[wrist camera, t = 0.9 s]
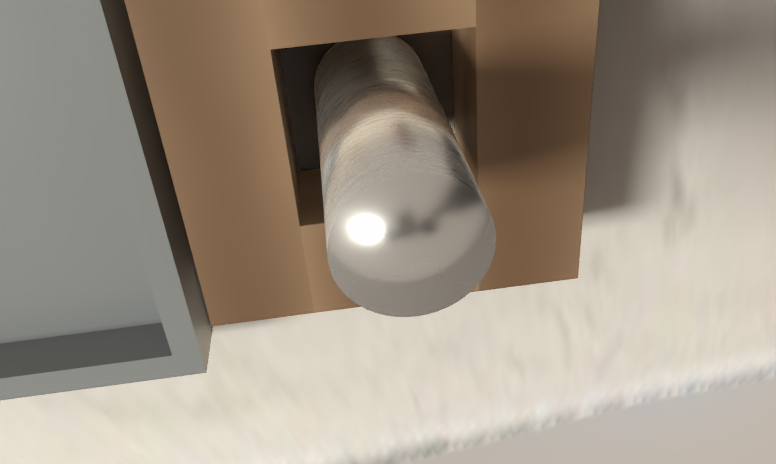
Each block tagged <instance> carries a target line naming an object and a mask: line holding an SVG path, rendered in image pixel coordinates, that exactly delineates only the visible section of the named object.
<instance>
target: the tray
mask: <svg viewBox="0 0 776 464" xmlns="http://www.w3.org/2000/svg"><path fill="white" fill-rule="evenodd" d="M212 328H213V326H211V322H210V319H209V315H208V311H207V307H206V304H205V300H204V296H203V293H202V289H201V285H200V281H199V278H198V274H197V270H196V266H195V263H194V259H193V255H192V251H191V248H190V244H189V240H188V236H187V233H186V229H185V225H184V222H183V218H182V214H181V210H180V207H179V203H178V199H177V195H176V192H175V188H174V184H173V180H172V177H171V173H170V169H169V166H168V162H167V158H166V154H165V151H164V147H163V143H162V139H161V136H160V132H159V128H158V124H157V121H156V117H155V113H154V110H153V106H152V102H151V98H150V95H149V91H148V87H147V83H146V80H145V76H144V72H143V68H142V65H141V61H140V57H139V53H138V50H137V46H136V42H135V39H134V35H133V31H132V27H131V24H130V20H129V16H128V12H127V9H126V5H125V1H124V0H0V400H6V399H14V398H21V397H28V396H36V395H43V394H51V393H58V392H66V391H73V390H80V389H88V388H95V387H103V386H110V385H118V384H125V383H132V382H140V381H147V380H155V379H162V378H169V377H177V376H184V375H192V374H199V373H206V370H207V363H208V356H209V349H210V342H211V335H212Z"/></svg>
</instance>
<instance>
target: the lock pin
mask: <svg viewBox="0 0 776 464" xmlns="http://www.w3.org/2000/svg"><path fill="white" fill-rule="evenodd" d="M314 90H315V104H316V117H317V129H318V142H319V155H320V168H321V181H322V194H323V207H324V220H325V233H326V246H327V259H328V264H329V269H330V271H331V274H332V276H333V279H334V280H335V282H336V284H337V285H338V287H339V288H340V289H341V290H342V292H343V293H344V294H345V295H346V296H347V297H349V298H350V299H351V300H352V301H354V302H355V303H356V304H358V305H360V306H362V307H364V308H365V309H367V310H370V311H373V312H375V313H379V314H383V315H388V316H396V317H411V316H420V315H425V314H429V313H433V312H436V311H439V310H442V309H444V308H446V307H449V306H450V305H452V304H454V303H456V302H458V301H459V300H461V299H462V298H463V297H465V296H466V295H467V294H468V293H470V292H471V291H472V290H473V289H474V288H475V287H476V286H477V285H478V284H479V283H480V281H481V280H482V278H483V277H484V276H485V274H486V272H487V271H488V269H489V267H490V265H491V262H492V260H493V257H494V252H495V248H496V230H495V225H494V221H493V218H492V216H491V214H490V211H489V209H488V207H487V205H486V203H485V200H484V198H483V196H482V194H481V192H480V189H479V187H478V185H477V183H476V181H475V178H474V176H473V174H472V172H471V170H470V168H469V165H468V163H467V161H466V159H465V157H464V154H463V152H462V150H461V148H460V146H459V144H458V141H457V139H456V137H455V135H454V133H453V130H452V128H451V126H450V124H449V122H448V119H447V117H446V115H445V113H444V111H443V109H442V106H441V104H440V102H439V100H438V98H437V95H436V93H435V91H434V89H433V87H432V84H431V82H430V80H429V78H428V76H427V74H426V71H425V69H424V67H423V65H422V63H421V60H420V59H419V57H418V55H417V54H416V52H415V51H414V50H413V49H412V48H411V47H410V46H409V45H408V44H407V43H406V42H405V41H403V40H402V39H400V38H398V37H396V36H388V37H379V38H370V39H361V40H352V41H343V42H336V43H335V44H334V45H333V46H332V47H331V48H330V49H329V50H328V51H327V52H326V53H325V55H324V56H323V58H322V59H321V61H320V63H319V65H318V68H317V71H316V75H315V81H314Z"/></svg>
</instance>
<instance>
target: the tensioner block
mask: <svg viewBox="0 0 776 464" xmlns="http://www.w3.org/2000/svg"><path fill="white" fill-rule="evenodd" d="M124 1H125V5H126V9H127V12H128V16H129V20H130V24H131V27H132V31H133V35H134V39H135V42H136V46H137V50H138V53H139V57H140V61H141V65H142V68H143V72H144V76H145V80H146V83H147V87H148V91H149V95H150V98H151V102H152V106H153V110H154V113H155V117H156V121H157V124H158V128H159V132H160V136H161V139H162V143H163V147H164V151H165V154H166V158H167V162H168V166H169V169H170V173H171V177H172V180H173V184H174V188H175V192H176V195H177V199H178V203H179V207H180V210H181V214H182V218H183V222H184V225H185V229H186V233H187V236H188V240H189V244H190V248H191V251H192V255H193V259H194V263H195V266H196V270H197V274H198V278H199V281H200V285H201V289H202V293H203V296H204V300H205V304H206V307H207V311H208V315H209V319H210V322H211V326H216V325H224V324H232V323H239V322H247V321H254V320H262V319H270V318H277V317H285V316H293V315H300V314H308V313H315V312H323V311H331V310H338V309H346V308H353V307H361V306H360V305H358V304H356V303H355V302H354V301H352V300H351V299H350V298H349V297H347V296H346V295H345V294H344V293H343V292H342V290H341V289H340V288H339V287H338V285H337V284H336V282H335V280H334V279H333V276H332V274H331V271H330V269H329V264H328V259H327V246H326V233H325V220H324V207H323V194H322V181H321V168H319V169H311V170H303V171H299V170H298V164H297V158H296V151H295V145H294V139H293V133H292V126H291V120H290V114H289V108H288V102H287V95H286V89H285V83H284V77H283V70H282V64H281V58H280V52H279V49H280V48H289V47H298V46H307V45H316V44H325V43H334V42H343V41H352V40H361V39H370V38H379V37H388V36H397V35H406V34H415V33H424V32H433V31H442V30H451V29H452V56H453V90H454V123H455V137H456V139H457V141H458V144H459V146H460V148H461V150H462V152H463V154H464V157H465V159H466V161H467V163H468V165H469V168H470V170H471V172H472V174H473V176H474V178H475V181H476V183H477V185H478V187H479V189H480V192H481V194H482V196H483V198H484V200H485V203H486V205H487V207H488V209H489V211H490V214H491V216H492V218H493V221H494V225H495V230H496V248H495V252H494V257H493V260H492V262H491V265H490V267H489V269H488V271H487V272H486V274H485V276H484V277H483V278H482V280H481V281H480V283H479V284H478V285H477V286H476V287H475V288H474V289H473V290H472V291H471V292H475V291H483V290H491V289H498V288H506V287H513V286H521V285H529V284H536V283H544V282H552V281H559V280H567V279H574V278H578V269H579V257H580V244H581V231H582V218H583V206H584V193H585V180H586V168H587V155H588V142H589V129H590V117H591V104H592V91H593V78H594V66H595V53H596V40H597V28H598V15H599V2H600V0H124Z"/></svg>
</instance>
